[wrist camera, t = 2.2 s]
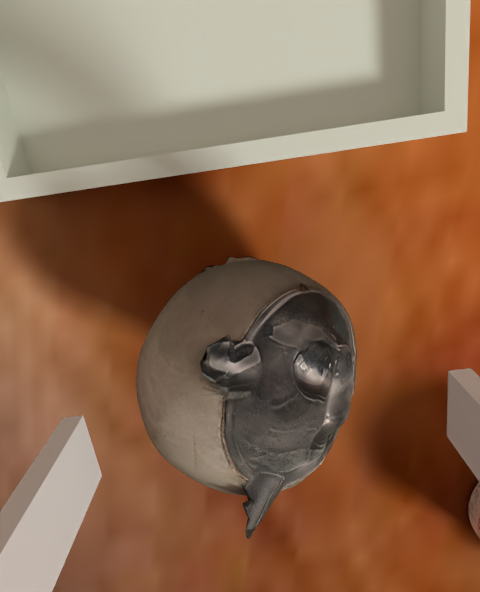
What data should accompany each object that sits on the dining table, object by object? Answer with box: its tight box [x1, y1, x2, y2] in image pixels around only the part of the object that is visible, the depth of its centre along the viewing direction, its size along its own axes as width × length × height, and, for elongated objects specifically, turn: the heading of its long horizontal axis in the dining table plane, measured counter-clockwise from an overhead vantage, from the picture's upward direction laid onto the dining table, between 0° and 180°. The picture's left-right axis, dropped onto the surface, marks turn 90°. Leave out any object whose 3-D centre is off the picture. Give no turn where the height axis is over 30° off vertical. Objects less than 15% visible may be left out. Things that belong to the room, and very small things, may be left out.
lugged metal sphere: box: [136, 257, 357, 539], centre depth 20 cm, size 10×12×10 cm
